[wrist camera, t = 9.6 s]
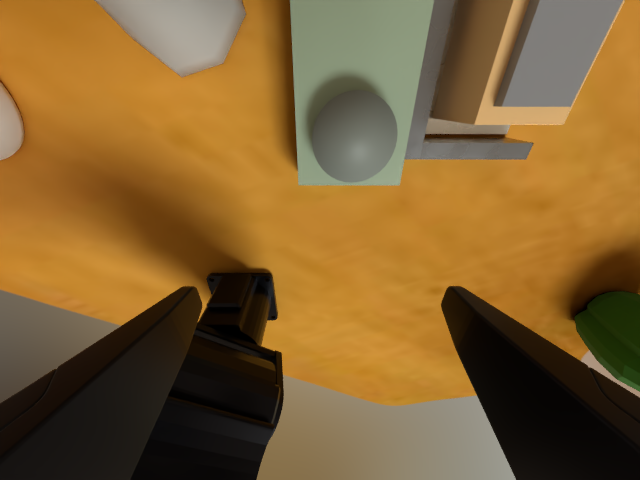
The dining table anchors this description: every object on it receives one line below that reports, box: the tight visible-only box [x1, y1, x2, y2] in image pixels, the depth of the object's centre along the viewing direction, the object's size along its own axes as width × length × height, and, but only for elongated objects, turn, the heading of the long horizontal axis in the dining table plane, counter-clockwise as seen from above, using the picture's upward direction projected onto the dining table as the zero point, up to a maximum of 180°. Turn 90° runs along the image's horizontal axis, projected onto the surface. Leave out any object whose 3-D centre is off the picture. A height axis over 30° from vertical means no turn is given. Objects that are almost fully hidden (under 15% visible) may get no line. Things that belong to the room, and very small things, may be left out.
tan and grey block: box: [432, 0, 625, 125], centre depth 12 cm, size 6×4×6 cm
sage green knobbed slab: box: [290, 0, 434, 185], centre depth 13 cm, size 14×7×4 cm, turn 0°
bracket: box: [404, 0, 533, 159], centre depth 13 cm, size 10×8×2 cm
